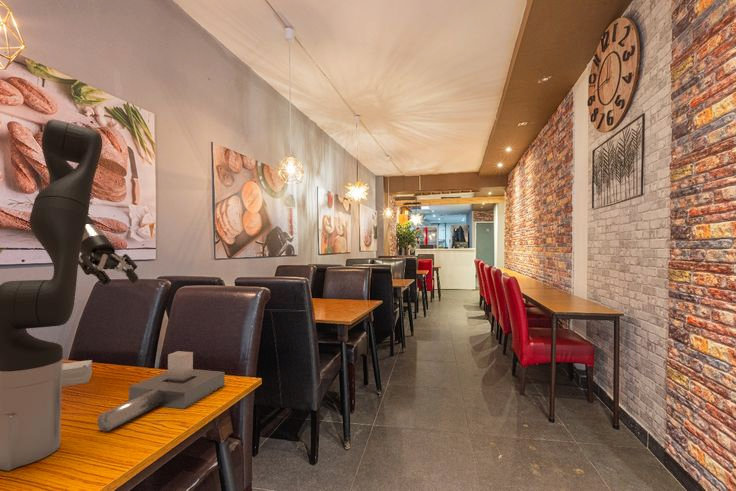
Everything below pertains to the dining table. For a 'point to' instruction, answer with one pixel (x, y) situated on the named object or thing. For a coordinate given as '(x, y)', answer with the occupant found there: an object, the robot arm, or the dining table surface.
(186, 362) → the upright grey pillar
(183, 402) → the grey handled frame
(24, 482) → the dining table surface
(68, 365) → the small box
